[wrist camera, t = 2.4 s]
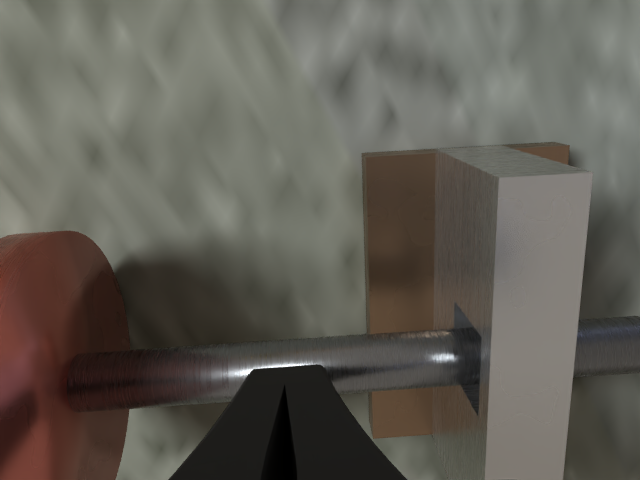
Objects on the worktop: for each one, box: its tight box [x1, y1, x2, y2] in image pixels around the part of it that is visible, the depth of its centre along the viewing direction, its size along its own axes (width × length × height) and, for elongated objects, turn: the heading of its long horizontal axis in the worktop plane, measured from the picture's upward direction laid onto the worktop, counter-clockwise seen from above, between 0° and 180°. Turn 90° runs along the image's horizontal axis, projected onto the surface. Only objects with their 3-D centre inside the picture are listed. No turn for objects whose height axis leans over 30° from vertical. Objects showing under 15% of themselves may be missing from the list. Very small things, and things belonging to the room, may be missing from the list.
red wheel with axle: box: [0, 231, 640, 480], centre depth 11 cm, size 14×6×6 cm, turn 93°
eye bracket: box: [362, 142, 593, 480], centre depth 12 cm, size 5×8×5 cm, turn 3°
